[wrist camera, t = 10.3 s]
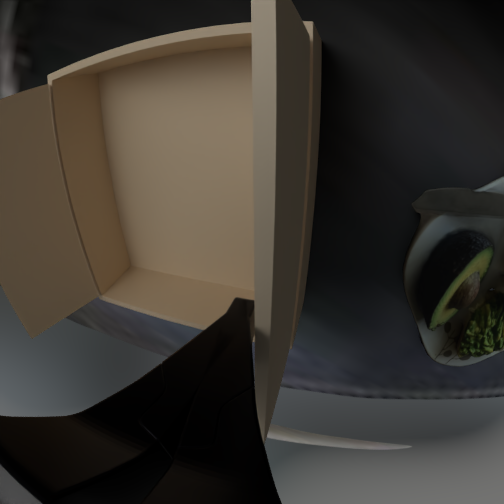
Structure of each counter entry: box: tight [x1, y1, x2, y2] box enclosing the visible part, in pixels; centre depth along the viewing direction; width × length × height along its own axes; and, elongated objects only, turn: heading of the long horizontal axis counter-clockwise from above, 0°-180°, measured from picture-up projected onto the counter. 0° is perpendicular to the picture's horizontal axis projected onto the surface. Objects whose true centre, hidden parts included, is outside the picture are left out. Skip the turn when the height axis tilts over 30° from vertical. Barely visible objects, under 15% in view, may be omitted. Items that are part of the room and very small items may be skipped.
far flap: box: [0, 84, 99, 339], centre depth 15 cm, size 7×17×1 cm
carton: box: [48, 21, 322, 349], centre depth 17 cm, size 16×18×5 cm
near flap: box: [251, 0, 310, 444], centre depth 10 cm, size 7×17×1 cm
